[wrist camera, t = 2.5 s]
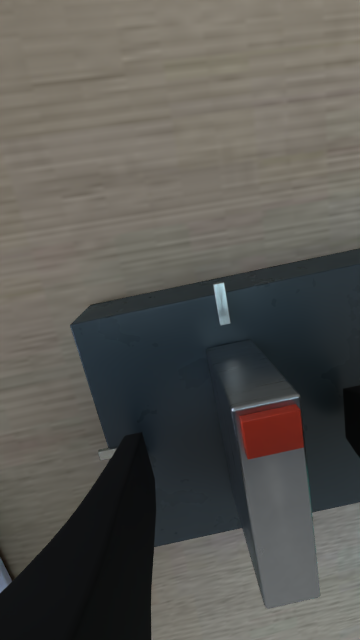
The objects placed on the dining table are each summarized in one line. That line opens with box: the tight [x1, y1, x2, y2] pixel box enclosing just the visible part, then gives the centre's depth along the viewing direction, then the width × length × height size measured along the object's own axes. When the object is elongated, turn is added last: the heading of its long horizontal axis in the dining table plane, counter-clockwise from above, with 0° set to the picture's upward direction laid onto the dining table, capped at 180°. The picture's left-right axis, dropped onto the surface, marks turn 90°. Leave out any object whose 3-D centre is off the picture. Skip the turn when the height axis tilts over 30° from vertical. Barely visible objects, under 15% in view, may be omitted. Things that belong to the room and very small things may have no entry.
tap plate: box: [70, 249, 360, 547], centre depth 13 cm, size 14×11×3 cm
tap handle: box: [206, 340, 320, 608], centre depth 9 cm, size 6×2×4 cm, turn 11°
